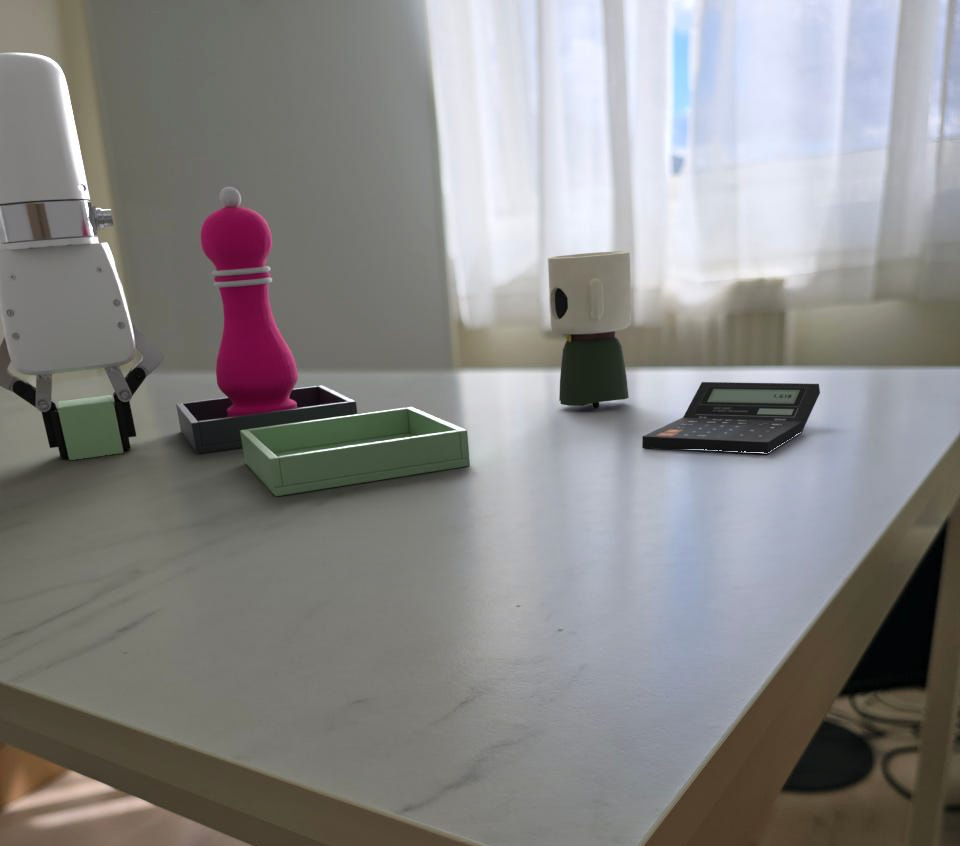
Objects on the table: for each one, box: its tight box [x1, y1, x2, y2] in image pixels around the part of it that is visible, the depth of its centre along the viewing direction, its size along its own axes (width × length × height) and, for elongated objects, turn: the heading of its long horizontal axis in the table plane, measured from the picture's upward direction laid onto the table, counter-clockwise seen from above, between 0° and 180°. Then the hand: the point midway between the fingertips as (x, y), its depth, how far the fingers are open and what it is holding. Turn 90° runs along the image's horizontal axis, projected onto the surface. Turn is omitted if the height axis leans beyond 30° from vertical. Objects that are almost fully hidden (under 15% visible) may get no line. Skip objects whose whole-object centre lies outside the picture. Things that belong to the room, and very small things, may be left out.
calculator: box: [641, 381, 821, 453], centre depth 76 cm, size 9×12×3 cm
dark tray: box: [175, 384, 358, 455], centre depth 93 cm, size 14×13×3 cm
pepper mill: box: [200, 186, 299, 417], centre depth 90 cm, size 7×7×20 cm
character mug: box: [547, 250, 632, 410], centre depth 90 cm, size 11×7×13 cm, turn 1°
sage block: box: [57, 394, 125, 461], centre depth 89 cm, size 4×4×4 cm
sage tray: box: [240, 406, 471, 497], centre depth 77 cm, size 14×13×3 cm
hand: (95, 448), depth 90 cm, fingers closed on sage block, 4 cm apart
